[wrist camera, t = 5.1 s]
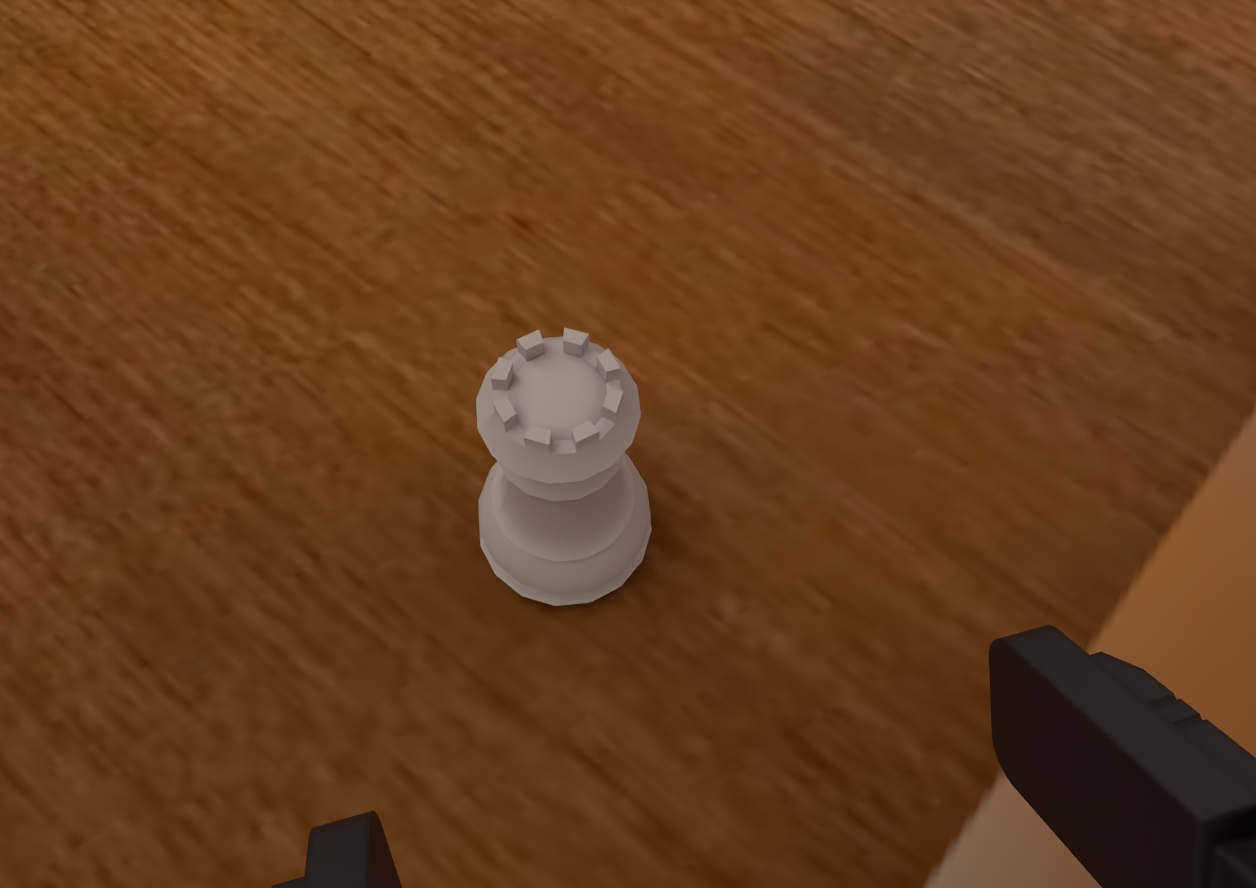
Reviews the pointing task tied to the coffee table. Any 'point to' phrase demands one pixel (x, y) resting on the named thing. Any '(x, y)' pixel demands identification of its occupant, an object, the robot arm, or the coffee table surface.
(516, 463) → the rook chess piece
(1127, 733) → the robot arm
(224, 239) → the coffee table surface
